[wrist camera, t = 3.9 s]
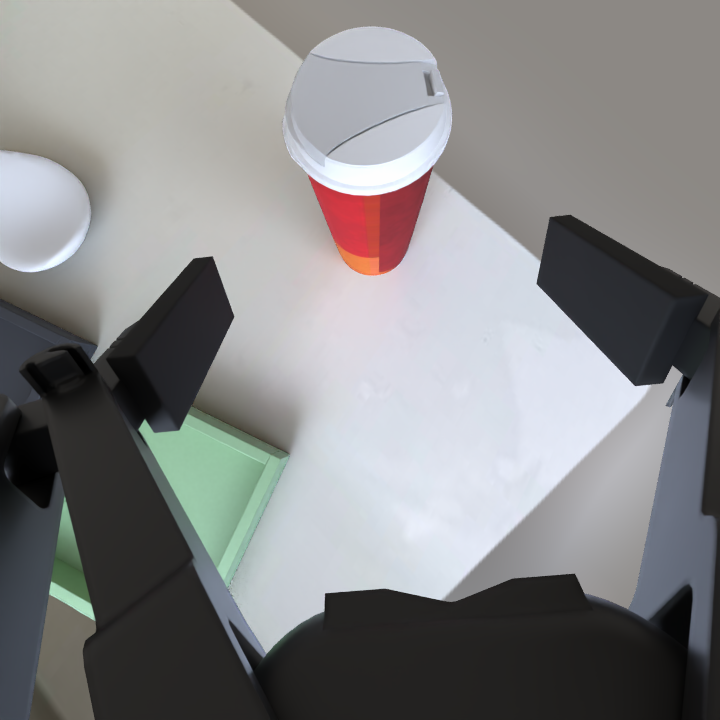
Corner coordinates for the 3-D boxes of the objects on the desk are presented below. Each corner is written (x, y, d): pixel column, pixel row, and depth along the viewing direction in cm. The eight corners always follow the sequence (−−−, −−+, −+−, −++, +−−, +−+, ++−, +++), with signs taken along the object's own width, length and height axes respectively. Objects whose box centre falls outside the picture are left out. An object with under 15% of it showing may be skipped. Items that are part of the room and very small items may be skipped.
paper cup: (411, 190, 30) (439, 0, 16) (429, 280, 29) (474, 158, 15) (317, 207, 30) (264, 34, 16) (331, 296, 29) (286, 192, 15)
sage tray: (290, 454, 27) (281, 459, 25) (200, 645, 26) (181, 671, 23) (127, 374, 29) (102, 371, 26) (33, 550, 28) (-2, 564, 25)
